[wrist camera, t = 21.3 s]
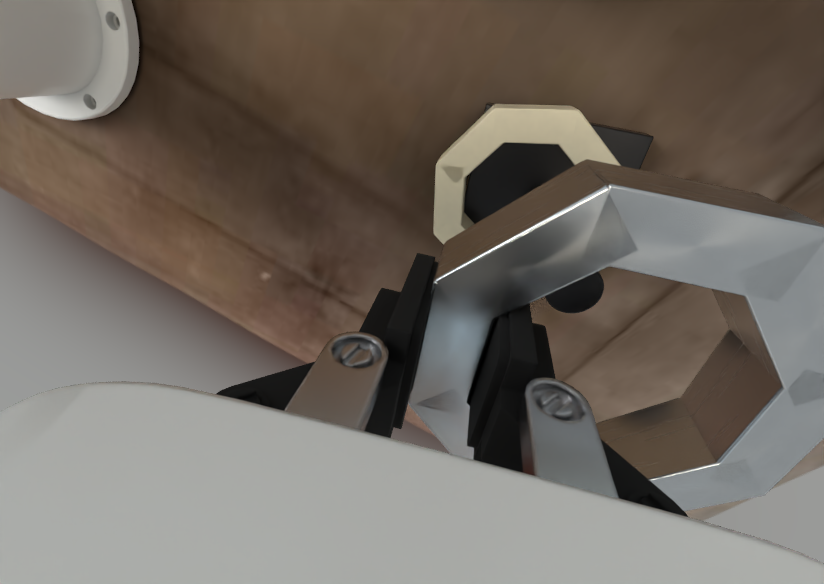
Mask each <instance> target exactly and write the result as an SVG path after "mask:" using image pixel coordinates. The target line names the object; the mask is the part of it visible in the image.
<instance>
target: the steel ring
mask: <svg viewBox="0 0 824 584" xmlns="http://www.w3.org/2000/svg"><path fill="white" fill-rule="evenodd" d="M609 266H610V267H614V268H619V269H623V270H628V271H633V272H637V273H642V274H646V275H651V276H655V277H660V278H664V279H669V280H674V281H678V282H683V283H687V284H692V285H696V286H701V287H705V288H710V289H712V291H713V293H714V295H715V298H716V300H717V302H718V304H719V306H720V309H721V311H722V313H723V315H724V317H725V320H726V322H727V324H728V326H729V330H728V331H727V333H726V334H725V336H724V337H723V338H722V340H721V341H720V343H719V344H718V345H717V347H716V348H715V350H714V351H713V353H712V354H711V355H710V357H709V358H708V360H707V361H706V363H705V364H704V365H703V367H702V368H701V370H700V371H699V372H698V374H697V375H696V377H695V378H694V380H693V381H692V382H691V384H690V385H689V387H688V388H687V389H686V391H685V392H684V394H683V395H682V397H680V398H677V399H674V400H671V401H667V402H664V403H661V404H658V405H654V406H651V407H648V408H645V409H641V410H638V411H635V412H631V413H628V414H625V415H622V416H618V417H615V418H612V419H609V420H605V421H602V422H599V423H596V426H597V429H598V432H599V436H600V438H601V439H602V440H603V441H604V442H605V443H606V444H608V445H609V446H610V447H611V448H612V449H613V450H615V451H616V452H617V453H618V454H619V455H620V456H622V457H623V458H624V459H625V460H626V461H627V462H629V463H630V464H631V465H632V466H633V467H635V468H636V469H637V470H638V471H639V472H640V473H642V474H643V475H644V476H645V477H646V478H647V479H649V480H650V481H651V482H652V483H653V484H654V485H656V486H657V487H658V488H659V489H660V490H661V491H663V492H664V493H665V494H666V495H667V496H668V497H670V498H671V499H672V500H673V501H674V502H675V503H676V504H677V505H678V506H679V507H680V508H681V509H682V510H683V511H688V510H693V509H698V508H703V507H708V506H713V505H719V504H724V503H729V502H734V501H739V500H744V499H749V498H754V497H759V496H763V495H765V494H766V493H768V492H769V491H770V490H771V489H772V488H773V487H774V486H775V485H776V484H777V483H778V482H779V481H780V480H781V479H782V478H783V477H784V476H785V475H786V474H787V473H788V472H789V471H790V470H791V469H792V468H794V467H795V466H796V465H797V464H798V463H799V462H800V461H801V460H802V459H803V458H804V457H805V456H806V455H807V454H808V453H809V452H810V451H811V450H812V449H813V448H814V447H815V446H816V445H817V444H818V443H819V442H820V441H821V440H823V439H824V225H823V224H821V223H819V222H816V221H814V220H812V219H810V218H808V217H806V216H804V215H802V214H800V213H798V212H796V211H794V210H792V209H789V208H787V207H785V206H783V205H781V204H779V203H777V202H775V201H773V200H771V199H769V198H767V197H764V196H762V195H760V194H758V193H753V192H748V191H743V190H738V189H733V188H728V187H723V186H718V185H713V184H708V183H703V182H698V181H693V180H688V179H683V178H678V177H673V176H668V175H663V174H658V173H654V172H649V171H644V170H639V169H634V168H629V167H624V166H619V165H614V164H609V163H604V162H599V161H594V160H589V159H586V160H584V161H581V162H580V163H578V164H576V165H575V166H573V167H571V168H569V169H568V170H566V171H564V172H563V173H561V174H559V175H558V176H556V177H554V178H552V179H551V180H549V181H547V182H546V183H544V184H542V185H541V186H539V187H537V188H535V189H534V190H532V191H530V192H529V193H527V194H525V195H524V196H522V197H520V198H518V199H517V200H515V201H513V202H512V203H510V204H508V205H507V206H505V207H503V208H501V209H500V210H498V211H496V212H495V213H493V214H491V215H490V216H488V217H486V218H484V219H483V220H481V221H479V222H478V223H476V224H474V225H473V226H471V227H469V228H467V229H466V230H464V231H462V232H461V233H459V234H457V235H456V236H454V237H452V238H450V239H449V240H447V241H446V242H445V243H444V245H443V249H442V252H441V256H440V259H439V263H438V266H437V269H436V273H435V276H434V280H433V284H432V289H431V293H430V298H429V299H430V300H431V302H430V307H429V311H428V316H427V320H426V325H425V329H424V334H423V339H422V343H421V348H420V352H419V357H418V361H417V366H416V370H415V375H414V380H413V384H412V389H411V393H410V397H409V401H408V403H409V406H410V407H411V408H412V409H413V410H414V411H415V413H416V414H417V415H418V416H419V417H420V418H421V420H422V421H423V422H424V423H425V424H426V425H427V427H428V428H429V429H430V430H431V431H432V432H433V434H434V435H435V436H436V437H437V438H438V439H439V440H440V442H441V443H442V444H443V445H444V446H445V447H446V449H447V450H448V451H449V452H450V453H451V454H453V455H457V456H461V457H465V458H468V459H472V460H473V456H474V448H472V447H468V446H467V436H468V423H469V410H470V403H471V392H472V389H473V386H474V383H475V380H476V376H477V373H478V370H479V367H480V364H481V361H482V358H483V355H484V352H485V349H486V346H487V343H488V340H489V337H490V334H491V330H492V327H493V324H494V321H495V319H497V318H499V317H500V316H503V315H505V314H507V313H510V312H512V311H514V310H516V309H518V308H520V307H522V306H525V305H527V304H529V303H531V302H533V301H535V300H538V299H540V298H542V297H544V296H546V295H548V294H550V293H553V292H555V291H557V290H559V289H561V288H563V287H566V286H568V285H570V284H572V283H574V282H576V281H579V280H581V279H583V278H585V277H587V276H589V275H591V274H594V273H596V272H598V271H600V270H602V269H604V268H607V267H609Z"/></svg>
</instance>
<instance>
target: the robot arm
mask: <svg viewBox="0 0 824 584" xmlns="http://www.w3.org/2000/svg"><path fill="white" fill-rule="evenodd" d="M138 64H139V37H138V29H137V21H136V16H135V12H134V9H133V5H132V1H131V0H0V99H8V98H16V99H18V100H19V101H21V102H22V103H23V104H25V105H27V106H29V107H31V108H33V109H34V110H36V111H38V112H40V113H42V114H45V115H48V116H52V117H55V118H58V119H65V120H74V121H76V120H85V119H94V118H97V117H101V116H104V115H107V114H109V113H110V112H112V111H113V110H115V109H116V108H118V107H119V106H120V105H121V103H122V102H123V101H124V100H125V99H126V98H127V96H128V94H129V92H130V90H131V88H132V86H133V84H134V82H135V77H136V73H137V68H138ZM434 261H435V257H433V256H428V255H424V254H419V253H417V255H416V257H415V260H414V262H413V265H412V267H411V270H410V272H409V274H408V277H407V279H406V282H405V284H404V287H403V289H402V291H401V292H398V291H394V290H389V289H385V288H381V290H380V291H379V293H378V295H377V297H376V299H375V301H374V303H373V305H372V307H371V309H370V311H369V313H368V315H367V317H366V319H365V321H364V323H363V325H362V327H361V329H360V331H359V332H346V333H342V334H338V335H337V336H335V337H333V338H331V339H330V341H329V342H328V343H327V344H326V345H325V347H324V349H323V350H322V352H321V353H320V355H319V356H318V358H317V360H316V361H315V362H312V363H309V364H306V365H302V366H299V367H296V368H292V369H289V370H285V371H282V372H279V373H275V374H272V375H268V376H265V377H262V378H258V379H255V380H252V381H248V382H245V383H242V384H238V385H234V386H231V387H229V388H226V389H224V390H221V391H220V392H218V393H217V394H212V393H207V392H203V391H198V390H193V389H189V388H185V387H178V386H171V385H165V384H157V383H143V382H126V381H122V382H99V383H86V384H78V385H72V386H66V387H61V388H56V389H52V390H49V391H46V392H43V393H39V394H36V395H34V396H32V397H29V398H27V399H25V400H22V401H20V402H18V403H16V404H14V405H12V406H10V407H8V408H6V409H5V410H3V411H1V412H0V584H824V563H822V562H820V561H818V560H815V559H813V558H811V557H809V556H806V555H804V554H802V553H800V552H797V551H794V550H791V549H789V548H786V547H783V546H781V545H778V544H775V543H772V542H770V541H767V540H764V539H761V538H757V537H754V536H751V535H747V534H743V533H741V532H737V531H734V530H730V529H727V528H723V527H721V526H717V525H714V524H710V523H707V522H704V521H701V520H697V519H693V518H689V517H688V516H687V514H686V513H685V512H684V511H683V510H682V509H681V508H680V507H679V506H678V505H677V504H676V503H675V502H674V501H673V500H672V499H671V498H670V497H668V496H667V495H666V494H665V493H664V492H663V491H661V490H660V489H659V488H658V487H657V486H656V485H654V484H653V483H652V482H651V481H650V480H649V479H647V478H646V477H645V476H644V475H643V474H642V473H640V472H639V471H638V470H637V469H636V468H635V467H633V466H632V465H631V464H630V463H629V462H627V461H626V460H625V459H624V458H623V457H622V456H620V455H619V454H618V453H617V452H616V451H615V450H613V449H612V448H611V447H610V446H609V445H608V444H606V443H605V442H604V441H603V440H602V439H601V438H600V436H599V432H598V429H597V426H596V422H595V419H594V416H593V413H592V409H591V407H590V405H589V403H588V401H587V400H586V398H585V397H584V396H583V395H582V394H581V393H580V392H579V391H577V390H576V389H575V388H574V387H572V386H570V385H569V384H567V383H565V382H563V381H560V380H557V379H555V374H554V369H553V364H552V358H551V353H550V348H549V343H548V338H547V333H546V328H545V326H543V325H539V324H535V323H532V318H531V311H530V304H527V305H525V306H522V307H520V308H518V309H516V310H514V311H512V312H510V313H507V314H505V315H503V316H500V317H499V318H497V319H495V321H494V324H493V327H492V330H491V334H490V337H489V340H488V343H487V346H486V349H485V352H484V355H483V358H482V361H481V364H480V367H479V370H478V373H477V376H476V380H475V383H474V386H473V389H472V392H471V403H470V410H469V423H468V436H467V446H468V447H472V448H474V456H473V460H472V459H468V458H465V457H461V456H457V455H453V454H449V453H446V452H441V451H438V450H434V449H430V448H426V447H422V446H419V445H415V444H411V443H407V442H403V441H399V440H395V439H392V438H391V434H392V430H393V427H395V428H399V429H401V428H402V424H403V420H404V416H405V412H406V409H407V405H408V401H409V397H410V393H411V389H412V384H413V380H414V375H415V370H416V366H417V361H418V357H419V352H420V348H421V343H422V339H423V334H424V329H425V325H426V320H427V316H428V311H429V307H430V302H431V300H430V299H429V298H430V293H431V289H432V284H433V280H434V276H435V273H436V269H437V266H438V262H434Z"/></svg>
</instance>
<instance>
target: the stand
mask: <svg viewBox="0 0 824 584" xmlns="http://www.w3.org/2000/svg"><path fill="white" fill-rule="evenodd" d="M493 105H495V104H493V103H487V104H486V108H485V112H484V114H485V113H486V112H487V111H488V110H489V109H490V108H491V107H492V106H493ZM589 123H590V122H589ZM590 125H591V126H592V127H593V129H594V130H595V132H596V133H597V134H598V136H599V137H600V138H601V140H602V141H603V142H604V144H605V145H606V146H607V148H608V149H609V150H610V152H611V153H612V154H613V156H614V157H615V158H616V160H617V161H618V162H619V164H620V165H621V166H624V167H629V168H634V169H640V167H641V165H642V162H643V160H644V158H645V156H646V153H647V151H648V149H649V147H650V144H651V142H652V140H653V136H651V135H649V134H646V133H642V132H637V131H631V130H626V129H621V128H616V127H611V126H606V125H601V124H595V123H590ZM573 166H575V165H574V164H573V163H572V161H571V160H570V159H569V158H568V156H567V155H566V154H565V152H564V151H563V150H562V149H561V147H560V146H559V145H558V144H532V143H505V142H504V143H503V144H502V145H501V146H500V147H499V148H498V149H496V150H495V151H494V152H493V153H492V154H491V155H490V156H489V157H487V158H486V159H485V160H484V161H483V162H482V163H481V164H480V165H478V166H477V167H476V168H475V169H474V170H473V171H472V172H471V173H470V176H469V181H468V185H467V189H466V193H465V204H464V213H465V214H466V215H467V216H468V217H469V218H470V219H471V221H472V222H473V223H474V224H476V223H478V222H479V221H481V220H483V219H484V218H486V217H488V216H490V215H491V214H493V213H495V212H496V211H498V210H500V209H501V208H503V207H505V206H507V205H508V204H510V203H512V202H513V201H515V200H517V199H518V198H520V197H522V196H524V195H525V194H527V193H529V192H530V191H532V190H534V189H535V188H537V187H539V186H541V185H542V184H544V183H546V182H547V181H549V180H551V179H552V178H554V177H556V176H558V175H559V174H561V173H563V172H564V171H566V170H568V169H569V168H571V167H573ZM603 290H604V283H603V279H602V277H601V275H600V273H599V271H598V272H596V273H594V274H591V275H589V276H587V277H585V278H583V279H581V280H579V281H576V282H574V283H572V284H570V285H568V286H566V287H563V288H561V289H559V290H557V291H555V292H553V293H550V294H548V295H546V296H545V297H546V300H547V301H548V303H549V304H550V305H551V306H552V307H553V308H555V309H557V310H559V311H561V312H565V313H579V312H583V311H585V310H588V309H589V308H591V307H593V306H594V305H595V304H596V303H597V302H598V301H599V299H600V298H601V296H602V294H603Z"/></svg>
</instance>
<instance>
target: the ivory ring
mask: <svg viewBox="0 0 824 584" xmlns="http://www.w3.org/2000/svg"><path fill="white" fill-rule="evenodd" d="M504 142H505V143H532V144H558V145H559V146H560V147H561V149H562V150H563V151H564V152H565V154H566V155H567V156H568V158H569V159H570V160H571V161H572V163H573V164H574V165H576V164H578V163H580V162H581V161H584V160H586V159H589V160H594V161H599V162H604V163H609V164H614V165H619V166H621V165H620V164H619V162H618V161H617V160H616V158H615V157H614V156H613V154H612V153H611V152H610V150H609V149H608V148H607V146H606V145H605V144H604V142H603V141H602V140H601V138H600V137H599V136H598V134H597V133H596V132H595V130H594V129H593V127H592V126H591V125H590V123H589V122H588V121H587V119H586V118H585V117H584V115H583V114H582V113H581V111H579V110H578V109H576V108H574V107H572V106H566V105H522V104H495V105H493V106H492V107H491V108H490V109H489V110H488V111H487V112H486V113H485V114H484V115H483V116H481V117H480V118H479V119H478V120H477V121H476V122H475V123H474V124H473V125H472V126H471V127H470V128H469V129H468V130H467V131H466V132H465V133H464V134H463V135H462V136H461V137H460V138H459V139H457V140H456V141H455V142H454V143H453V144H452V145H451V146H450V147H449V148H448V149H447V150H446V151H445V152H444V153H443V154H442V155H441V157H440V158H439V160H438V162H437V164H436V172H435V199H434V227H433V233H434V235H435V236H436V237H437V238H438V239H439V240H440V241H441V242H442V243H443V245H444V243H445V242H446V241H447V240H449V239H450V238H452V237H454V236H456V235H457V234H459V233H461V232H462V231H464V230H466V229H467V228H469V227H471V226H473V225H474V223H473V222H472V221H471V219H470V218H469V217H468V216H467V215H466V214H465V213H464V204H465V191H466V177H467V175H468V174H470V173H471V172H472V171H473V170H474V169H475V168H476V167H477V166H478V165H480V164H481V163H482V162H483V161H484V160H485V159H486V158H487V157H489V156H490V155H491V154H492V153H493V152H494V151H495V150H496V149H498V148H499V147H500V146H501V145H502V144H503V143H504Z"/></svg>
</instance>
